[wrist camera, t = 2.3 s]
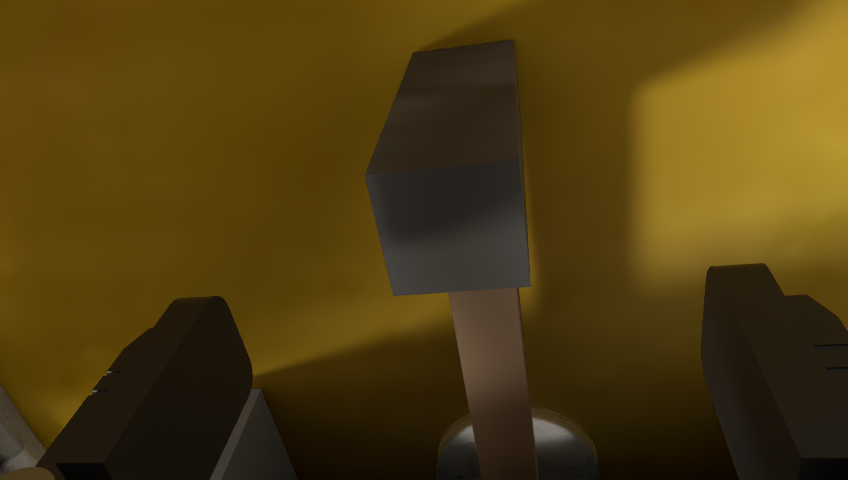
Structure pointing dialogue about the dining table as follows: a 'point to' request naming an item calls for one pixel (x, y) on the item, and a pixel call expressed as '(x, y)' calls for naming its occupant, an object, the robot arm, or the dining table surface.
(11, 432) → the packaged product
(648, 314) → the dining table surface
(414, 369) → the dining table surface
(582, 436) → the steel token
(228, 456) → the slate cabinet
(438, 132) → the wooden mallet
